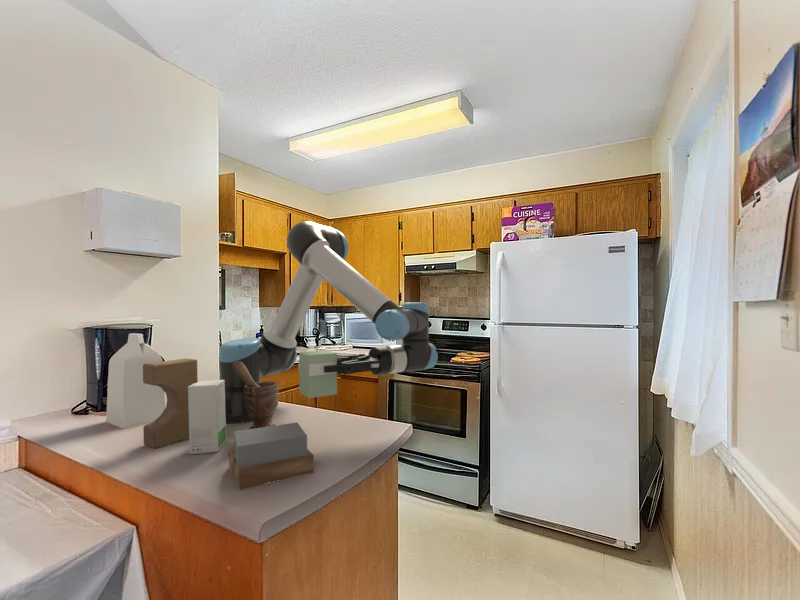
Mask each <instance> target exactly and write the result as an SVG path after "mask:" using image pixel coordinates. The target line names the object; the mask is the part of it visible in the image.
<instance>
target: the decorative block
mask: <svg viewBox="0 0 800 600" xmlns="http://www.w3.org/2000/svg"><path fill="white" fill-rule="evenodd" d="M197 382H199V380H198V360H197V359H194V358H180V359H179V358H178V359H173V360H172V359H171V360H165V361H164V360H162V362H154V363H146V364H144V365H143V383H145V384H150V385H157V386H159V387H161V388H162V389H163V391H164V392H165V397H166V403H165V407H166V408H165V409H164V411H163V413H162V414H161V415H160V416H159V417H158V418H157V419H156V420H155V421H153V422H148V423H146V424H145V425H144V426H143V427H142V428H143V445H144V446H146V447H149V448H152V449H158V448H162V447H165V446H166V447H167V446H169V445H172V444H175V443H179V442H182V441H186V440H189V405H188V386H191V385H192V384H194V383H197Z"/></svg>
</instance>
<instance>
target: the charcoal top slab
mask: <svg viewBox="0 0 800 600" xmlns="http://www.w3.org/2000/svg"><path fill="white" fill-rule="evenodd" d="M275 425H276V426H269V427H262V428H255V429H249V428H248V429H242V430H235V431H233V435H234V437H233V438H234V439H233V440H234V445H233V446H234V449H233V450H234V451H235V456H236V462H237V468H240V467H246V466H252V465H257V464H263V463H268V462H274V461H279V460H285V459H290V458H296V457H301V456H307V449H308V434H306V432H305V431H304V429H303V428H302V427H301V426H300V424H299V423H298V422H291V423H285V424H284V423H282V424H278V425H277V424H275Z"/></svg>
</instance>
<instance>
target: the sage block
mask: <svg viewBox="0 0 800 600" xmlns="http://www.w3.org/2000/svg"><path fill="white" fill-rule="evenodd" d="M298 353H299V354H298V357H299V358H298V360H299V371H298V372H299V373H298V374H299V376H298V377H299V378H298V380H299V386H298V387H299V390H298V392H299V393H300V395H303V396H304V397H306V398H308V399H313V398H319V397H327V396H334V395H335V396H336V395H338V373H337V372H336V373H335V374H326V375H317V376H309V364H316V363H327V362H336V365H337V356H338V353H337V352H334V351H331V350H325V349H324V350H311V351H299V352H298Z"/></svg>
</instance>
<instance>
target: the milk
mask: <svg viewBox="0 0 800 600" xmlns="http://www.w3.org/2000/svg"><path fill="white" fill-rule="evenodd" d="M162 361H163V358H162V356H161V355H160V354H159V353H158V352H157V351H155V350H154V349H153V347H152V346H150V345H149V344H148V343H145V340H144V336H143V333H128V338H127V342H126V344H124V345H123V346H122V347H121V348H119V349H118V351H116V352H115V353H114V354H113V355H112V356H111V357H110V359H109V362H108V373H107V374H108V376H107V396H106V397H107V398H106V412H105V413H106V414H105V415H106V416H105V417H106V418H105V422H106V423H108V424H110V425H113V426H115V427H118V428H121V429H126V428H131V427H135V425H136V426H139V424H140V425H143V424H149V423H151V422H154V421H155V420H156V419H157V418H158V417H159V416H160V415H161V414H162V413H163V411H164V409H165V408H166V393H165V392H164V391H163V389H162V388H161V387H159V386H157V385H150V384H145V383H143V365H144V364H146V363H154V362H162Z"/></svg>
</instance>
